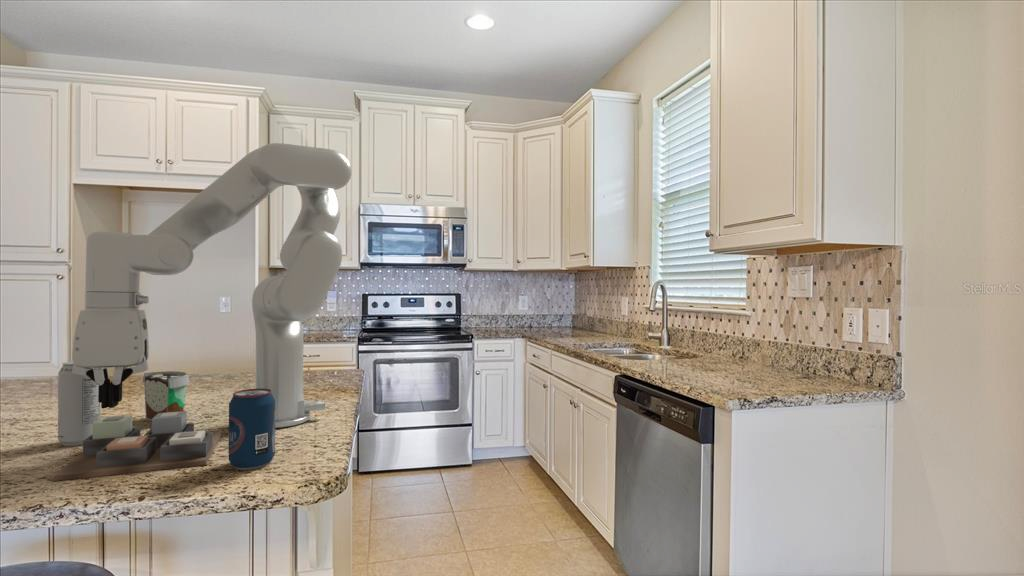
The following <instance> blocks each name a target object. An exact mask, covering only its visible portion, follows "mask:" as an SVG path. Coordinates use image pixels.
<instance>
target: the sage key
mask: <svg viewBox="0 0 1024 576" xmlns="http://www.w3.org/2000/svg"><path fill="white" fill-rule="evenodd" d="M132 428H133V414H130V415H129V414H128V415H116V416H102V417H100V419H99V420H97V421H96V422H94V423H93V428H92V439H104V438H116V437H125V436H126V435H128V434H129V433H130V432H131V431H132Z"/></svg>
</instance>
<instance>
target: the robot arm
mask: <svg viewBox="0 0 1024 576" xmlns="http://www.w3.org/2000/svg"><path fill="white" fill-rule="evenodd" d="M352 171H353V170H352V165H351V163H350V161H349V159H348V158H347V157H346V156H345V155H344V154H343V153H341V152H339V151H337V150H334V149H330V148H323V147H315V146H307V145H297V144H292V143H291V144H290V143H279V142H273V143H272V142H271V143H267V144H265V145H263V146H260V147H258V148H256V149H254V150H252V151H249V153H247V154H246V155H244V156H243V157H242V158H241V159H240V160H238V161H237V162H236V163H235V164H233V166H231V167H230V168H229V169H227V170H226V171H225V172H224V173H223V174H221V175H220V176H219V177H217V179H215V180H214V181H213V182H212V183H210V184H209V185H208V186H207V187H205V188H204V189H203V190H202V191H200V192H199V193H198V194H196V196H194V197H192V199H191V200H190V201H188V202H187V204H185V205H183V206H182V207H181V208H180V209H179V210H177V211H176V212H175V213H173V214H172V215H171V216H169V217H168V218H167V219H166V220H164V221H163V222H162V223H161V224H159V225H158V226H157V227H156V228H155V229H154V230H152V231H151V232H150V233H149V234H133V233H130V232H122V231H120V232H119V231H107V230H106V231H104V230H101V231H100V230H99V231H93V232H91V233H89V234H88V235H87V238H86V246H85V247H86V250H85V288H84V289H85V291H84V309H80V310H79V313H78V317H77V321H76V325H75V329H74V334H73V343H72V350H71V351H72V353H71V358H72V360H71V361H73V364H74V365H73V368H72V373H73V374H78V375H84V376H88V377H89V378H91V379H92V380H93V381H94V382H95V383H96V385H99V390H98V402H99V403H100V409H107V408H109V409H113V408H115V407H117V406H118V405H119V403H121V402H122V400H123V383H124V382H125V381H127V379H128V378H129V377H131V376H132V375H136V374H140V373H143V372H144V373H145V372H146V371H147V370H149V365H148V362H147V361H148V359H149V353H150V351H149V350H150V349H149V348H150V345H149V332H148V331H149V330H148V323H147V316H146V313H145V310H144V309H140V307H141V305H143V304H149V301H150V300H149V296H148V295H145V296H144V295H142V294H141V292H140V280H141V279H140V277H141V276H140V275H141V274H140V273H146V274H149V275H151V276H173V275H178V274H181V273H183V272H185V271H186V270H188V268H189V267H190V266H191V265H192V263H193V261H194V250H196V249H197V248H198V247H199V246H200V245H202V244H203V243H204V242H206V241H207V240H209V239H210V238H212V237H213V236H215V235H217V234H219V233H221V232H223V231H225V230H227V229H229V228H231V227H233V226H235V225H236V224H238V223H239V222H241V220H243V218H245V217H246V216H247V215H248V214H250V212H251V211H252V210H253V209H254V208H256V207H257V206H258V205H259V204H260V203H261V202H263V201H264V199H266V198H267V197H269V196H270V195H271V193H273V192H274V191H275V190H276V189H278V188H279V187H283V186H294V187H296V188H297V190H298V192H299V195H300V198H301V202H302V203H301V209H300V211H299V213H298V216H297V218H296V221H295V222H294V225H293V226H292V228H291V229H290V232H289V233H288V235H287V238H286V239H285V240H284V242H283V244H282V246H281V249H280V252H279V260H280V263H281V266H282V267H283V268H284V269H285V270H286V273H285V275H273V276H269V277H267V278H264V279H263V280H261V281H260V282H259V283H258V284H257V285H256V287H255V289H254V290H253V294H252V298H251V299H252V300H251V304H252V305H251V307H252V313H253V321H254V330H255V333H254V334H255V351H254V352H255V360H254V361H255V362H254V363H255V366H254V371H255V372H254V373H255V374H254V379H255V380H254V381H255V382H254V385H255V387H254V389H270V390H271V391H272V393H271V394H272V395H273V397H274V399H275V429H279V428H286V427H293V426H297V425H300V424H303V423H306V422H308V421H309V420H310V419H311V412H310V411H313V412H314V411H326V401H324V400H323V401H319V400H311V401H310V400H305V395H304V345H305V343H304V333H303V332H304V331H303V325H302V322H304V321H306V320H309V319H310V318H312V317H314V316H315V315H316V314H317V313H318V311H319V310H320V308H321V307H322V305H323V303H324V301H325V299H326V297H327V295H328V293H329V292H330V289H331V286H332V284H333V282H334V281H335V278H336V276H337V274H338V271H340V267H341V265H342V261H343V250H342V246H341V244H340V241H339V240H338V238H337V237H336V236H335V232H336V230H337V228H338V227H339V226H338V225H339V223H340V218H341V209H340V204H339V200H338V197H337V195H336V191H337V190H340V189H342V188H344V187H345V186H346V185H347V184H348V183H349V181H350V180H351V177H352ZM108 368H114V370H113V376H112V380H111V379H110V375H109V369H108Z"/></svg>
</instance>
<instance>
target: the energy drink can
mask: <svg viewBox="0 0 1024 576" xmlns="http://www.w3.org/2000/svg"><path fill="white" fill-rule="evenodd" d="M73 365H74V364H73V361H72V360H71V361H65V362H62V366H61V368H60V370H59V371H58V374H57V375H58V376H57V379H58V380H57V381H58V382H57V387H58V389H57V391H58V392H57V393H58V394H57V395H58V397H57V398H58V400H57V412H58V413H57V424H58V425H57V426H58V427H57V436H58V437H57V440H58V442H60V443H61V445H62V446H64V447H77V446H83V441H84V440H85V439H87V438H88V437H89V436H91V435H92V428H93V423H94V422H96V421H97V420H99V419H100V418H101V403H99V402H98V390H99V385H96V383H95V382H94V381H93V380H92V379H91V378H89V377H88V376H84V375H78V374H73V373H72V368H73Z"/></svg>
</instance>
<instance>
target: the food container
mask: <svg viewBox="0 0 1024 576" xmlns="http://www.w3.org/2000/svg"><path fill="white" fill-rule="evenodd" d="M142 383H143V384H144V399H145V400H144V402H145V403H144V405H145V419H146V420H147V421H151V422H152V419H153V418H154V417H155V416H156V415H157V414H158V413H168V412H181V411H185V403H186V391H187V385H189V384H190V383H191V382H190V378H189V375H188V374H187V372H185V371H175V370H174V371H170V370H166V371H152V372H151V371H149V372H144V373H143V377H142Z"/></svg>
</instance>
